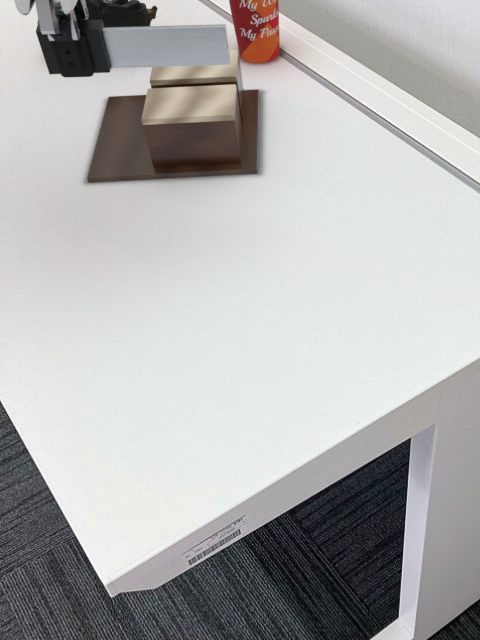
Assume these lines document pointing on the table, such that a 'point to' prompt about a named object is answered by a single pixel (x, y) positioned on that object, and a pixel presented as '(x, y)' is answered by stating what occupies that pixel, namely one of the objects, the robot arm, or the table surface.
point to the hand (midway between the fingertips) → (80, 66)
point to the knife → (146, 46)
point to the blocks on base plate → (180, 127)
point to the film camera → (119, 13)
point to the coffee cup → (256, 29)
